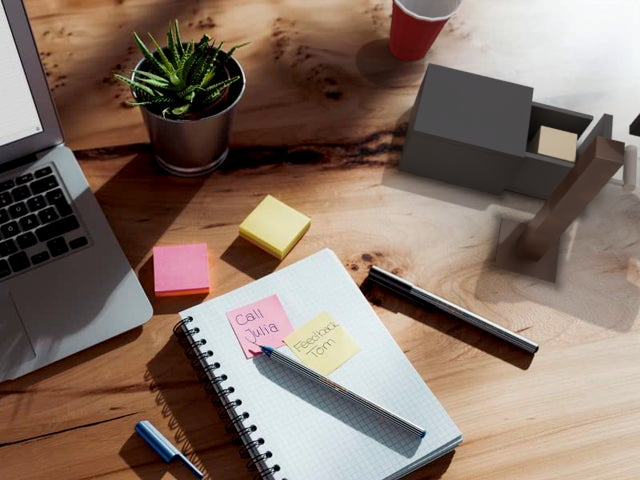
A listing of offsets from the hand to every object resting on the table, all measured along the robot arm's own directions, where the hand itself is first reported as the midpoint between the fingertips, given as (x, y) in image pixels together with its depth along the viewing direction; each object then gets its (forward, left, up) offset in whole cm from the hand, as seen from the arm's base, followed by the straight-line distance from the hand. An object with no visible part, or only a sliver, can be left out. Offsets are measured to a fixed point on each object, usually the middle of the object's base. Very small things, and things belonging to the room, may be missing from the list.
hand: (639, 132), depth 84 cm
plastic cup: (+30, -18, -12) cm, 37 cm away
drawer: (+6, 0, -11) cm, 13 cm away
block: (+8, 0, -10) cm, 13 cm away
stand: (+8, +14, -12) cm, 20 cm away
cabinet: (+20, 0, -12) cm, 24 cm away
